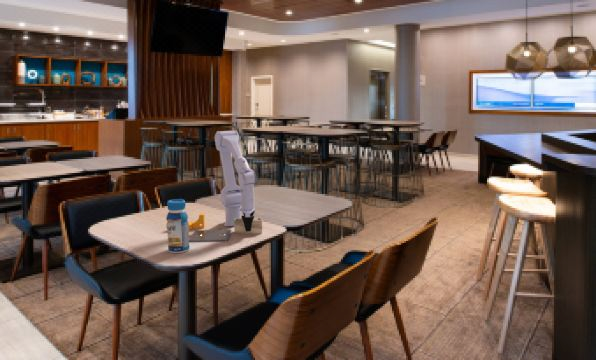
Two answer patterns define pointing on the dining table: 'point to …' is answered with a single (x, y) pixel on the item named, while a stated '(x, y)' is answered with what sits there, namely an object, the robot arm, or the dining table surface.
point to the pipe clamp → (197, 223)
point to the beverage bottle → (177, 226)
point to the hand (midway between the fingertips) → (248, 228)
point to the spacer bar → (254, 229)
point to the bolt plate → (210, 235)
